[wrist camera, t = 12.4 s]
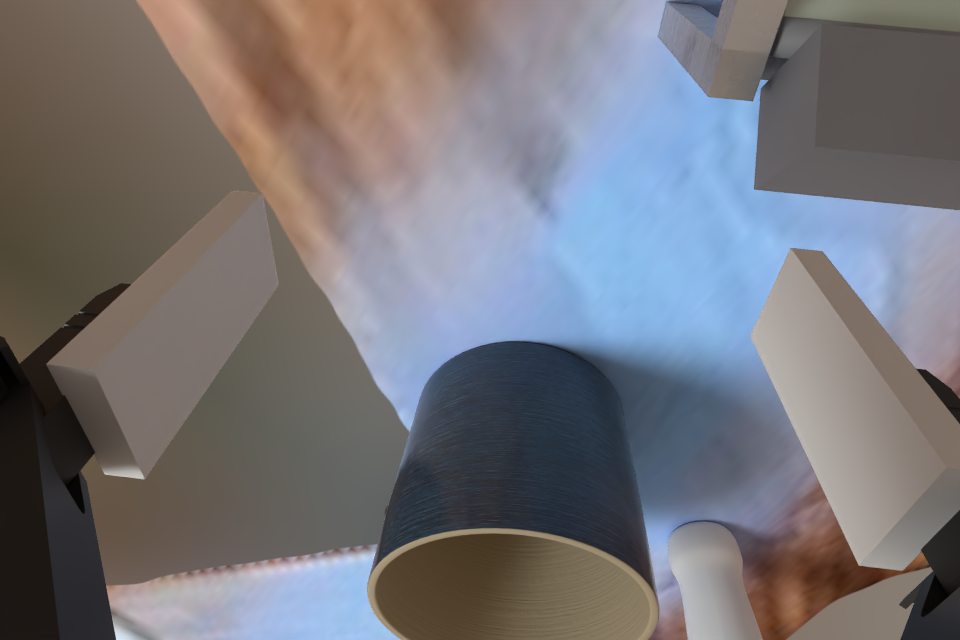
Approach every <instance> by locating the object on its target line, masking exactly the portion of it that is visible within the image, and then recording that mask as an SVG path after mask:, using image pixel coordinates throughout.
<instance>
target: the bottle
mask: <svg viewBox="0 0 960 640" xmlns="http://www.w3.org/2000/svg"><path fill="white" fill-rule="evenodd" d="M668 557H669V562H670V567H671V570H672V572H673V574H674V575H675V577H676V578H677V580H678V583H679V585H680V589H681V594H682V599H683V606H684V614H685V621H686V628H687V635H688V640H763V639H762V636H761V633H760V630H759V628H758V625H757V622H756V619H755V616H754V614H753V611H752V608H751V605H750V602H749V600H748V597H747V594H746V591H745V587H744V584H743V580H742V570H743V559H742V556H741V553H740V549H739V546H738V544H737V542H736V540H735V538H734V536H733V534H732V533H731V532H730V531H729V530H728V529H727V528H726V527H724V526H722V525H720V524H717V523H713V522H705V521H702V522H692V523H687V524H685V525H682V526H680V527H678V528H677V529H675V530H674V531H673V532H672V533H671V535H670V537H669V540H668Z"/></svg>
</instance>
